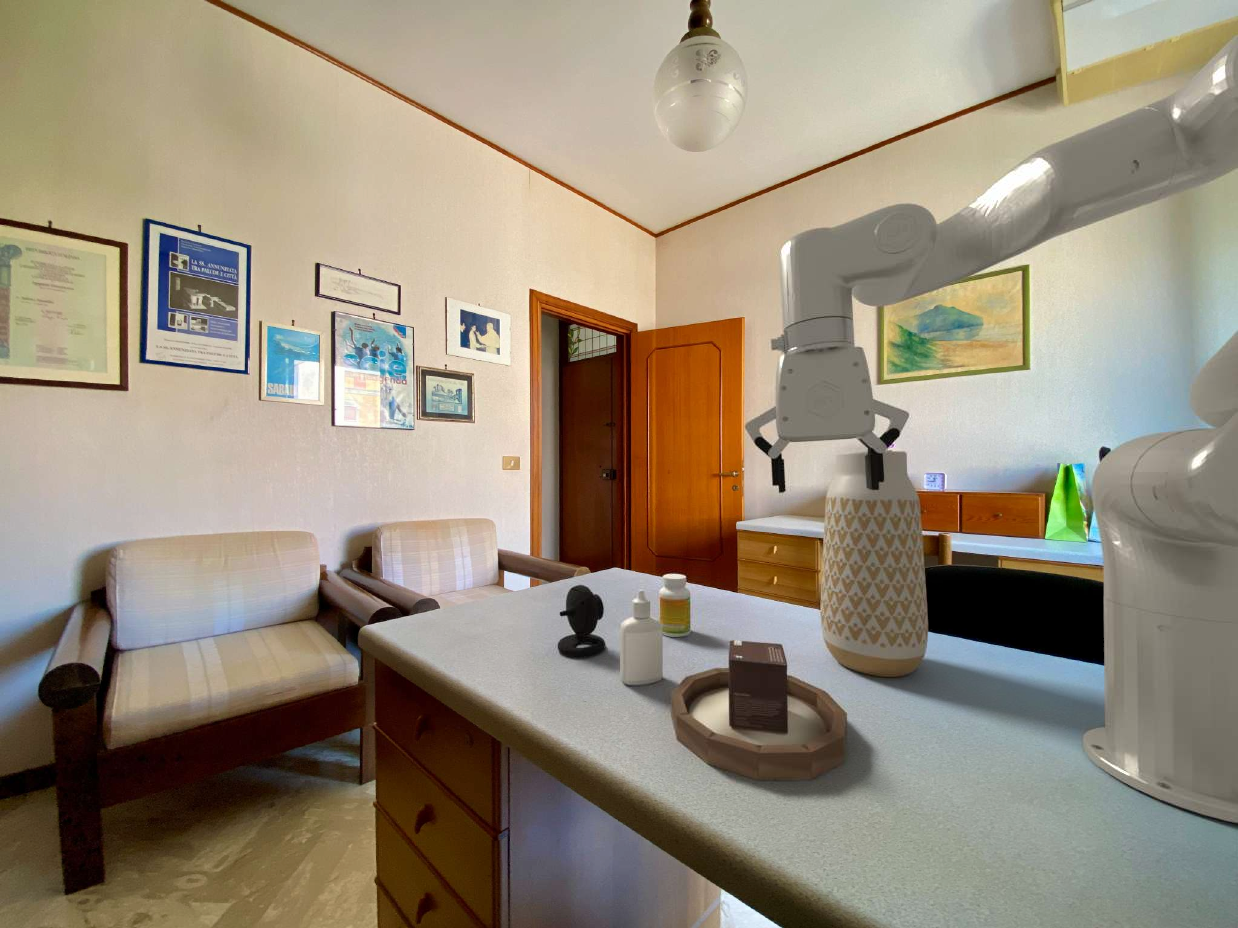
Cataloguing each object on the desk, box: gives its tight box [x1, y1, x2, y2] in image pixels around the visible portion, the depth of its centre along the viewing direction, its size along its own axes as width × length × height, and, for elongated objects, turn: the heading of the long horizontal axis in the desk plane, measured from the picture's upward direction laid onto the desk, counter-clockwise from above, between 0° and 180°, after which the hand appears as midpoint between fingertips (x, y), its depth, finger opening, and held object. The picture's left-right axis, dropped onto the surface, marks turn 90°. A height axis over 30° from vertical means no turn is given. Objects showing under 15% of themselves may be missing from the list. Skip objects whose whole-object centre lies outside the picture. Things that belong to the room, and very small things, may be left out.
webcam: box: [557, 584, 606, 659], centre depth 74 cm, size 8×8×10 cm
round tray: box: [670, 667, 848, 781], centre depth 52 cm, size 18×18×2 cm
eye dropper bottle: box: [619, 589, 664, 686], centre depth 63 cm, size 4×6×12 cm
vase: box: [819, 450, 929, 678], centre depth 68 cm, size 14×14×31 cm
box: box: [728, 640, 788, 734], centre depth 52 cm, size 6×6×7 cm
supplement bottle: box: [658, 573, 691, 638], centre depth 81 cm, size 5×5×10 cm
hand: (826, 490), depth 54 cm, fingers open, 9 cm apart
